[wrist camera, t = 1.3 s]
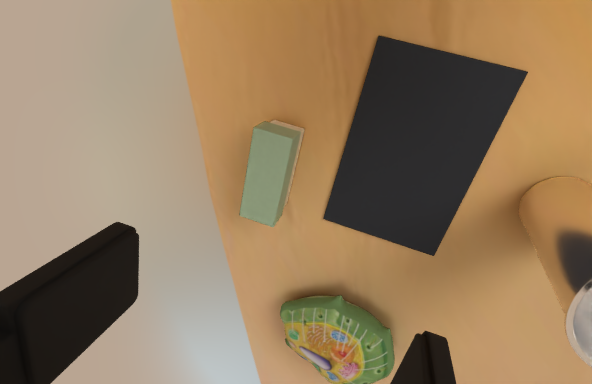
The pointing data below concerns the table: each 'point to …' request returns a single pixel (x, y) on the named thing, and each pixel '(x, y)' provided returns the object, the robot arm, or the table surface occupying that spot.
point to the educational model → (338, 339)
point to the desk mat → (418, 141)
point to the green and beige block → (270, 171)
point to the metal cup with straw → (565, 250)
